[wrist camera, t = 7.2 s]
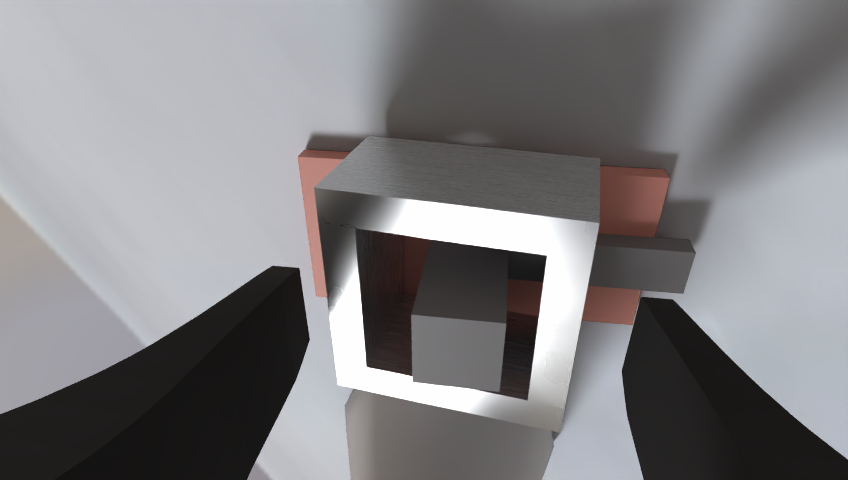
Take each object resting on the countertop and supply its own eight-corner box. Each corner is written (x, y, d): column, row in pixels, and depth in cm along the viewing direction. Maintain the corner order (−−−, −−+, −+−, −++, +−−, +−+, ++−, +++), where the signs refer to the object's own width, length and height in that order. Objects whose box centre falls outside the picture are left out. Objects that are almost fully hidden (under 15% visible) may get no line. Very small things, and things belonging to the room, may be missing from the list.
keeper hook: (700, 171, 13) (783, 287, 9) (658, 315, 15) (709, 460, 11) (304, 149, 14) (219, 242, 10) (321, 286, 16) (258, 406, 12)
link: (600, 158, 12) (599, 223, 9) (567, 344, 15) (560, 432, 12) (368, 135, 13) (313, 187, 11) (379, 311, 16) (337, 384, 13)
